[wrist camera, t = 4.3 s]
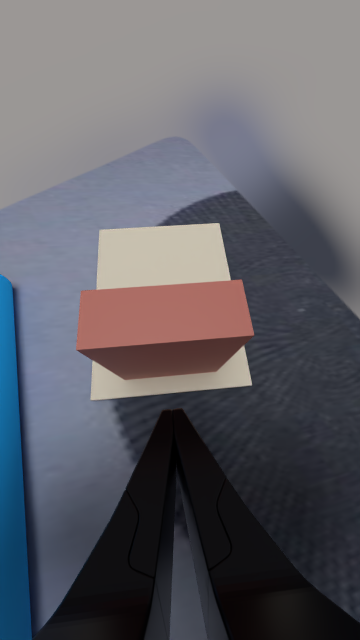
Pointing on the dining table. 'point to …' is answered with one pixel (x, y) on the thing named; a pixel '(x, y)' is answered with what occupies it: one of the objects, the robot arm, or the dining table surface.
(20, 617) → the book
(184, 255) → the mat
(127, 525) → the robot arm
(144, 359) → the card box
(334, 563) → the dining table surface
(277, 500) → the dining table surface
